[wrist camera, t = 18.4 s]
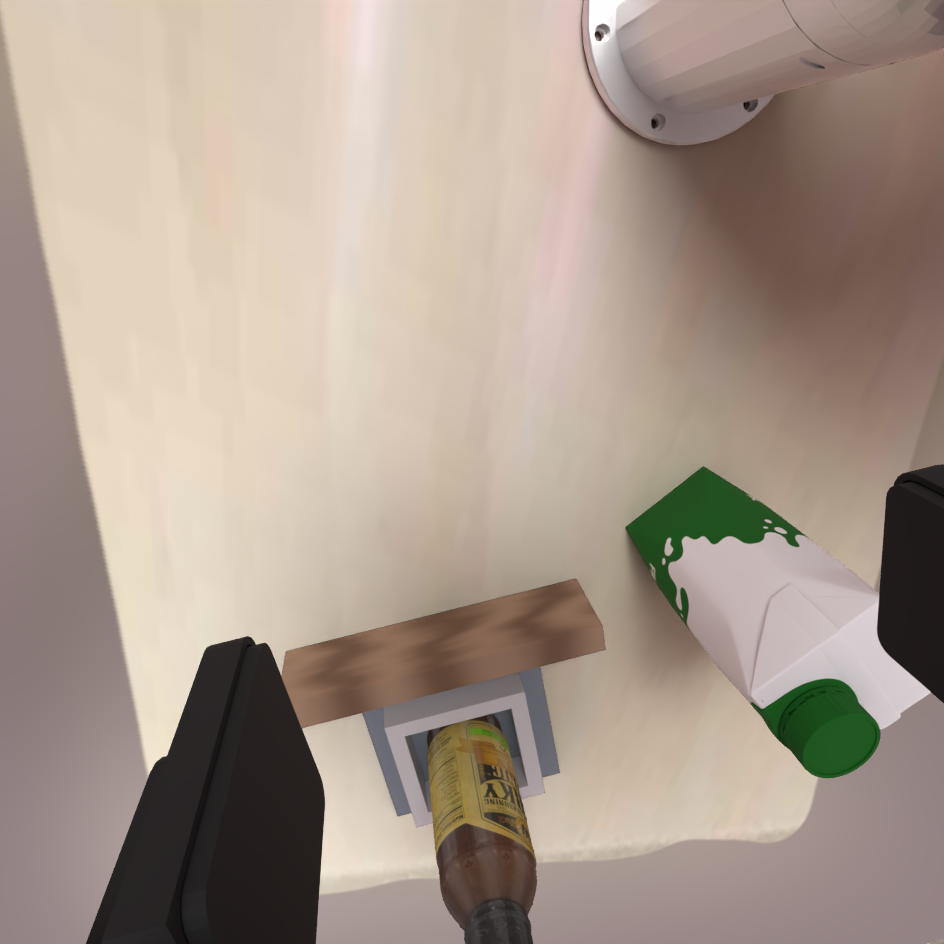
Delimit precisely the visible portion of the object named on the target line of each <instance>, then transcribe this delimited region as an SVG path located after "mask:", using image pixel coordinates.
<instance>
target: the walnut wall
mask: <svg viewBox="0 0 944 944" xmlns="http://www.w3.org/2000/svg"><path fill="white" fill-rule="evenodd" d="M602 650H606V648H605V641H604V633H603V626H602V624H601V622H600V620H599V619H598V617H597V615H596V613H595V612H594V610H593V608H592V606H591V604H590V603H589V601H588V599H587V597H586V595H585V594H584V592H583V590H582V588H581V586H580V585H579V583H578V581H577V579H573V580H569V581H565V582H561V583H557V584H553V585H549V586H545V587H541V588H537V589H533V590H529V591H525V592H521V593H517V594H513V595H509V596H505V597H501V598H497V599H493V600H489V601H485V602H481V603H477V604H473V605H469V606H465V607H461V608H457V609H453V610H449V611H445V612H441V613H437V614H433V615H429V616H425V617H421V618H417V619H413V620H409V621H405V622H401V623H397V624H393V625H390V626H386V627H382V628H378V629H374V630H370V631H366V632H362V633H358V634H354V635H350V636H346V637H342V638H338V639H334V640H330V641H326V642H322V643H318V644H314V645H310V646H306V647H302V648H298V649H294V650H290V651H286V653H285V659H284V665H283V671H282V676H281V677H282V680H283V682H284V685H285V687H286V690H287V692H288V695H289V697H290V700H291V703H292V705H293V708H294V710H295V713H296V715H297V718H298V720H299V723H300V726H301V728H305V727H308V726H312V725H316V724H320V723H324V722H328V721H332V720H336V719H339V718H343V717H347V716H351V715H355V714H359V713H363V712H366V711H370V710H374V709H378V708H382V707H386V706H390V705H394V704H397V703H401V702H405V701H409V700H413V699H417V698H421V697H424V696H428V695H432V694H436V693H440V692H444V691H448V690H451V689H455V688H459V687H463V686H467V685H471V684H475V683H479V682H482V681H486V680H490V679H494V678H498V677H502V676H506V675H509V674H513V673H517V672H521V671H525V670H529V669H533V668H537V667H540V666H544V665H548V664H552V663H556V662H560V661H564V660H567V659H571V658H575V657H579V656H583V655H587V654H591V653H595V652H598V651H602Z"/></svg>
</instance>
